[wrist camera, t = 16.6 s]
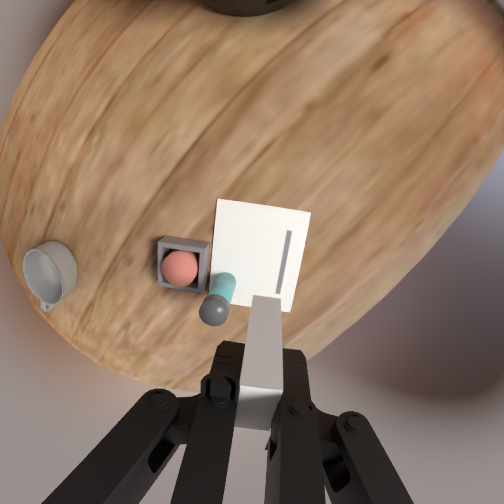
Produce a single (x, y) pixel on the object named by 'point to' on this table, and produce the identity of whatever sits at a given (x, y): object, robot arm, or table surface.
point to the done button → (180, 267)
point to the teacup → (50, 273)
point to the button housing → (186, 245)
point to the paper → (259, 249)
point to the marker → (218, 300)
